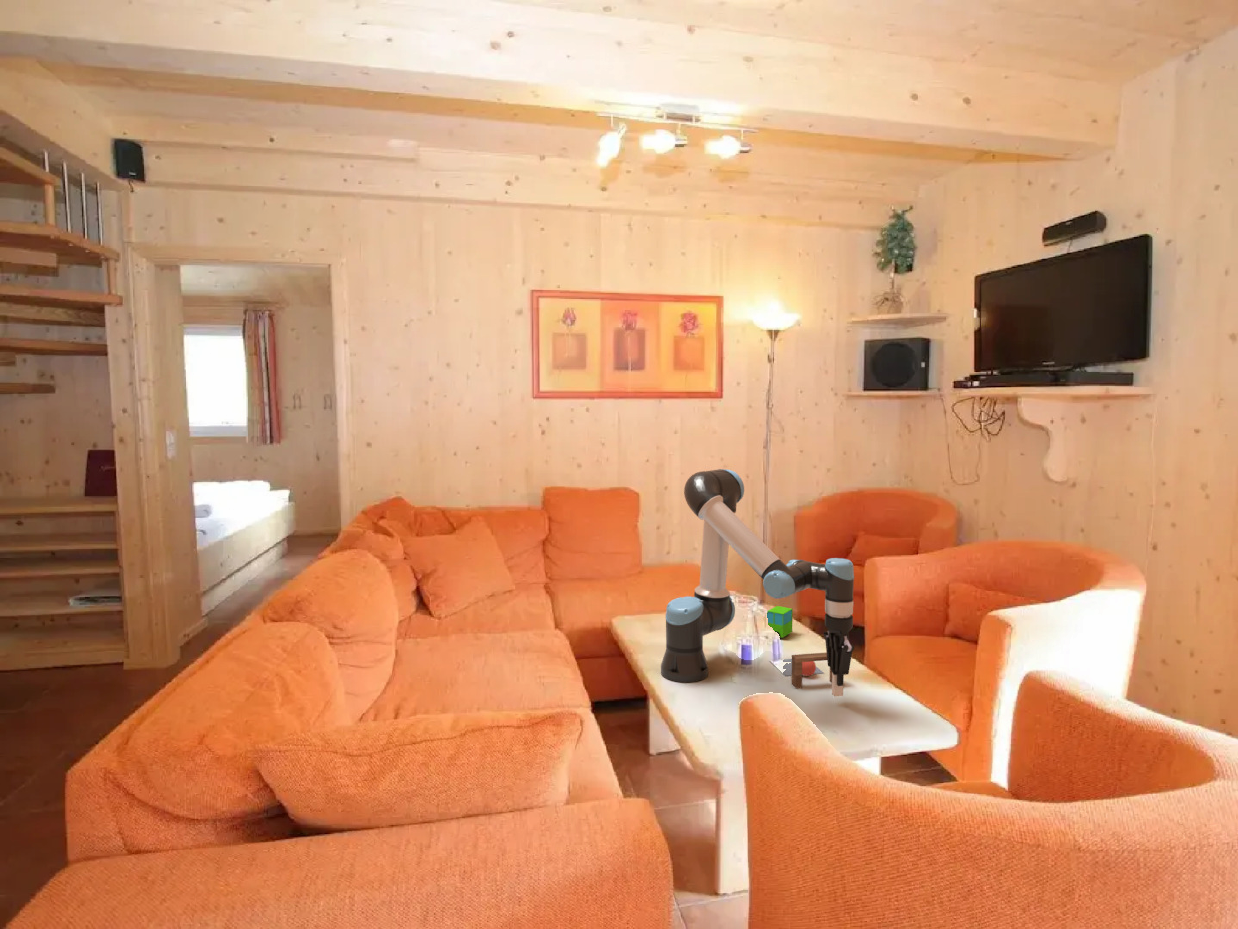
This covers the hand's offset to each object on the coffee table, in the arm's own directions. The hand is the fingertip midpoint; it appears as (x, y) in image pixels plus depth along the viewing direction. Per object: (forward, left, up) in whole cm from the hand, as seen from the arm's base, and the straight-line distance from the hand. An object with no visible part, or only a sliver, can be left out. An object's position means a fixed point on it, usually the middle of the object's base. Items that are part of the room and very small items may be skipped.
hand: (837, 695), depth 183 cm
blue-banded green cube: (+5, +59, -3) cm, 59 cm away
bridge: (0, +13, -2) cm, 13 cm away
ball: (0, +20, 0) cm, 20 cm away
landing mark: (0, +27, -2) cm, 27 cm away
